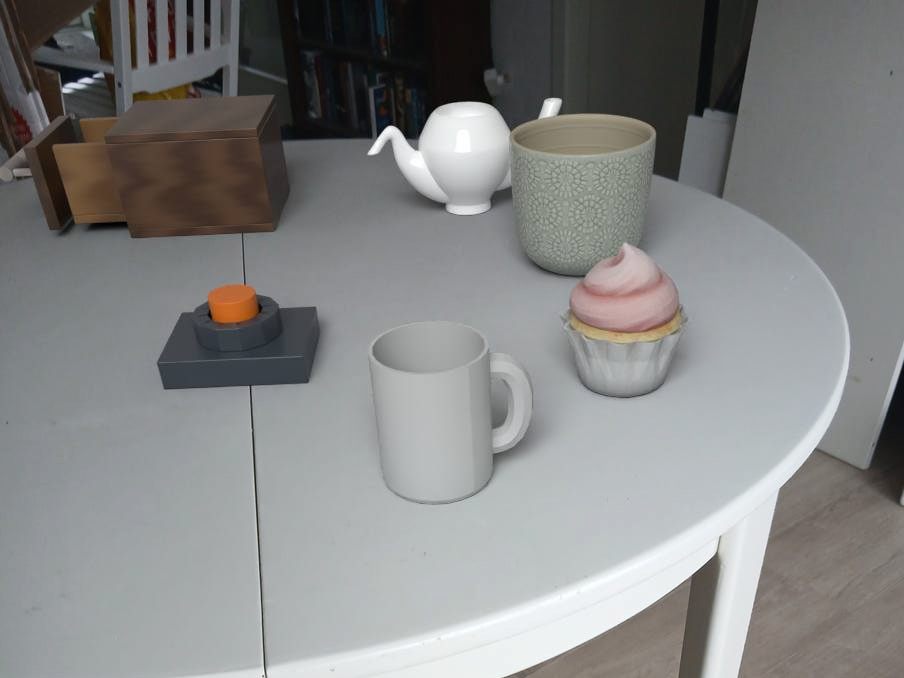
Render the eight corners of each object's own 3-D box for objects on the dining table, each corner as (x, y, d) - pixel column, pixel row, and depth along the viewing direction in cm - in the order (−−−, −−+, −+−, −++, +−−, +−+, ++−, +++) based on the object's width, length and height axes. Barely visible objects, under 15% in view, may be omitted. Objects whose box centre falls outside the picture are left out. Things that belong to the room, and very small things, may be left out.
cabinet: (130, 238, 100) (103, 135, 93) (159, 197, 109) (135, 100, 103) (274, 231, 100) (256, 127, 93) (290, 190, 109) (274, 94, 103)
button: (208, 327, 74) (203, 304, 73) (217, 307, 77) (212, 285, 76) (255, 324, 74) (251, 302, 73) (262, 305, 77) (258, 283, 76)
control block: (163, 389, 75) (149, 339, 72) (187, 337, 82) (176, 290, 79) (307, 383, 75) (299, 332, 72) (320, 331, 81) (312, 284, 79)
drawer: (8, 232, 100) (-21, 149, 95) (43, 195, 108) (18, 117, 103) (182, 224, 100) (162, 141, 94) (203, 187, 108) (186, 109, 103)
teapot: (366, 205, 104) (355, 108, 98) (546, 182, 108) (546, 87, 101) (383, 236, 97) (372, 133, 91) (575, 210, 101) (577, 110, 94)
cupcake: (565, 347, 77) (567, 216, 71) (686, 353, 76) (700, 219, 69) (549, 405, 71) (550, 266, 64) (681, 413, 69) (697, 271, 62)
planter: (534, 232, 96) (534, 110, 89) (660, 243, 93) (670, 116, 86) (492, 281, 88) (488, 150, 81) (628, 295, 84) (637, 159, 77)
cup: (376, 455, 66) (360, 328, 61) (520, 434, 68) (519, 309, 62) (391, 514, 61) (375, 382, 55) (547, 491, 62) (548, 359, 56)
